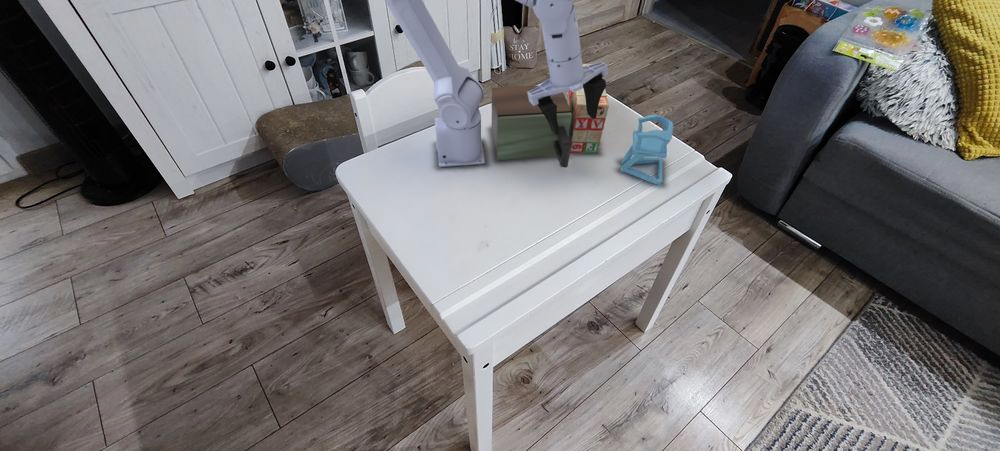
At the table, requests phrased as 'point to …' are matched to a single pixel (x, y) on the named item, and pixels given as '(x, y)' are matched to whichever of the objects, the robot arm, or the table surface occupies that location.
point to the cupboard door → (533, 138)
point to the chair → (648, 148)
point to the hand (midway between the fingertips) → (573, 123)
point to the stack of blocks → (585, 122)
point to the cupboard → (518, 105)
